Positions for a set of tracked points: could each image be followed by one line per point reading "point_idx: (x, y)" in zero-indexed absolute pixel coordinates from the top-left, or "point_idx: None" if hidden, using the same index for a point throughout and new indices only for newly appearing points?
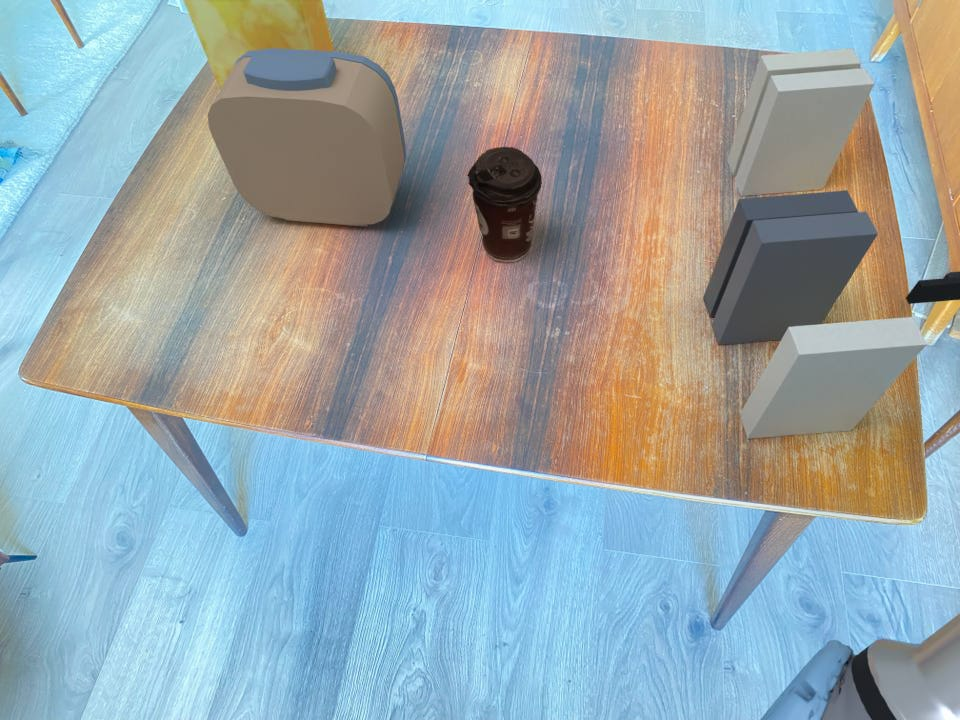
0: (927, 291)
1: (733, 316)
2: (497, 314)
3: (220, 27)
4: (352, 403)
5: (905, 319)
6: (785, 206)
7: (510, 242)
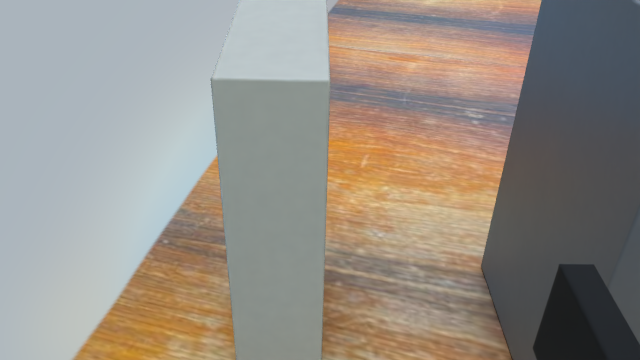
0: (565, 326)
1: (500, 188)
2: (495, 81)
3: None
4: (364, 16)
5: (320, 67)
6: None
7: None
